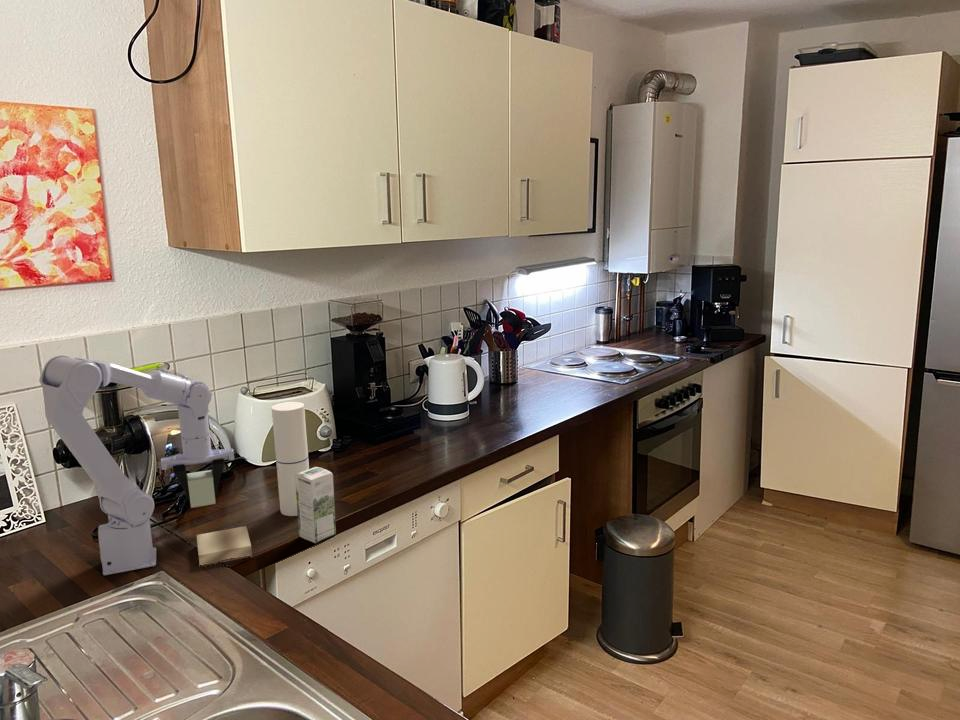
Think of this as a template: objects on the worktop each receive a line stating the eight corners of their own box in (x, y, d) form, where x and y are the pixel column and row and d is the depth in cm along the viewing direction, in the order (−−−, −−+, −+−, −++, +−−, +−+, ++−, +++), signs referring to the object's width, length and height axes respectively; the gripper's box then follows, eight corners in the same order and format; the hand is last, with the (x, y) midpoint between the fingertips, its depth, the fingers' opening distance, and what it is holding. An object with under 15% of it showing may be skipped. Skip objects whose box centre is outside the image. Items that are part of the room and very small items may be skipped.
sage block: (190, 507, 159) (187, 481, 158) (190, 499, 164) (187, 473, 162) (215, 503, 161) (212, 477, 160) (214, 495, 166) (211, 469, 164)
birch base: (200, 569, 148) (198, 555, 147) (198, 548, 157) (196, 534, 156) (252, 559, 152) (251, 545, 151) (247, 538, 161) (246, 526, 160)
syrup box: (319, 527, 164) (315, 465, 161) (337, 534, 161) (333, 471, 157) (298, 537, 160) (293, 473, 157) (316, 544, 156) (311, 479, 153)
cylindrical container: (292, 518, 169) (283, 412, 164) (274, 510, 174) (265, 406, 168) (318, 508, 174) (310, 405, 169) (300, 500, 179) (292, 400, 173)
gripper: (229, 425, 165) (235, 483, 168) (158, 434, 160) (165, 494, 163) (232, 434, 159) (238, 494, 162) (158, 444, 154) (166, 506, 157)
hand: (202, 495), depth 162 cm, fingers closed on sage block, 5 cm apart
